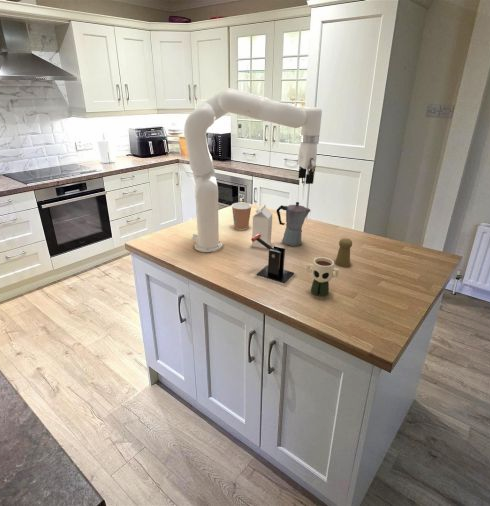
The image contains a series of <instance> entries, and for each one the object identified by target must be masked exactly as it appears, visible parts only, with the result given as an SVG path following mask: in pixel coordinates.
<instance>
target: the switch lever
mask: <svg viewBox="0 0 490 506" xmlns="http://www.w3.org/2000/svg"><path fill="white" fill-rule="evenodd" d="M260 237H261V235H260V234H257V235H256V236H254V237H253V238H252V237H251V239H250V240H251V243H252V242H254V241H256V240H257V241H258V242H260V243H261V244H262V245H264V246H265V247H266V248H265V249H267V250H268V251H269V250H270V249H272V250H276V251H280V250H279V249H278V248H276V249H274V247H272V246H271V244H270V245H268V244H267V243H266V242H264V241H263V240H262V239H260ZM280 252H281V254H282V251H280ZM281 254H280V255H281Z"/></svg>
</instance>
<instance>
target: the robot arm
mask: <svg viewBox="0 0 490 506" xmlns="http://www.w3.org/2000/svg"><path fill="white" fill-rule="evenodd" d="M228 113H230V114H234V115H239V116H244V117H246V118H251V119H255V120H258V121H262V122H269V123H273V124H277V125H281V126H283V127H289V128H293V129H299V128H300V137H299V139H300V140H299V143H300V145H299V149H298V158H297V165H298V166H299V167H298V179H305V184H306V185H312V184H314V180H315V174H316V173H315V172H316V168H317V165H316V164H317V155H318V154H317V153H318V144H319V141H320V134H321V124H322V123H321V122H322V114H323V110H322V108H321V107H318V106H306V107H303V106H302V107H301V106H296V105H292V104H288V103H284V102H281V101H277V100H274V99H271V98H269V97H266V96H263V95H259V94H255V93H251V92H248V91H244V90H240V89H237V88H232V87H225V88H223V89H221V90H220V91H219V92H217V93H216V94H214V95H213V96H211V97H209V98H207V99H206V100H204V101H203V102H201V103H199V104H198V105H197V106H196V107H195V108H194V109H193V110H192V111H191V113H190V114H189V115H188V116H187V118H186V120H185V122H184V127H183V136H184V142H185V147H186V152H187V155H188V160H189V161H188V162H189V167H190V170H191V171H192V174H193V175H192V176H193V178H194V183H195V186H194V187H195V188H194V195H195V211H196V232H197V233H193V234H192V237H191V241H195V243H194V249H195V250H196V251H198V252H200V253H201V252H202V253H213V252H214V251H218V250H219V249H221V248H222V247H223V243H222V242H221V241H220V240H219V239H220V233H219V232H220V231H219V230H220V229H219V226H220V225H219V186H218V182H217V181H218V180H217V176H216V171H215V166H214V161H213V157H212V154H211V153H210V150H209V144H208V139H207V131H208V130H209V128H210V127H212V126H213V124H214V123H215V121H217V120H219V119H220V118H222V117H224V116H225V115H227V114H228Z"/></svg>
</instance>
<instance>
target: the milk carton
mask: <svg viewBox="0 0 490 506" xmlns="http://www.w3.org/2000/svg"><path fill="white" fill-rule="evenodd" d="M272 227H273V212H271V211H270V210H269V209H268V208H267V206H266V204H264V205H263V206H262V207H261V208H257V209H256V210H255V214H254V215H253V216H252V231H251V233H252V234H251V239H252V238H253V237H254V236H256V235H257V234H260V235H261V237H260V239H262V240H263V241H264V242H266V243H267V244H268V245H270V246H271V244H272V230H273V228H272ZM251 247H254V248H261V249H267V248H266V247H265V246H264V245H262V244H261V243H260V242H258V241H257V240H256V241H254V242H252V241H251Z"/></svg>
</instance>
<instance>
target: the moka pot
mask: <svg viewBox="0 0 490 506" xmlns="http://www.w3.org/2000/svg"><path fill="white" fill-rule="evenodd" d="M281 210H282V211H285V222H286V224H285V222H282V216H281V212H280V211H281ZM310 212H312V210H311V209H310V208H308V207H305V206H304V205H300V202H299V201H296V202H295V204H289V205H279V207H278V208H277V209H276V215H277V219H278V223H279V225H282V226H286V227H285V230H284V233H283V237H282V239H281V240H282V243H283V244H285V245H287V246H290V247H297V246H300V245H301V244H302V233H303V230H302V228H303V225H304V223H305V220H306V218H307V216H308V215H309V214H310Z"/></svg>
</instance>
